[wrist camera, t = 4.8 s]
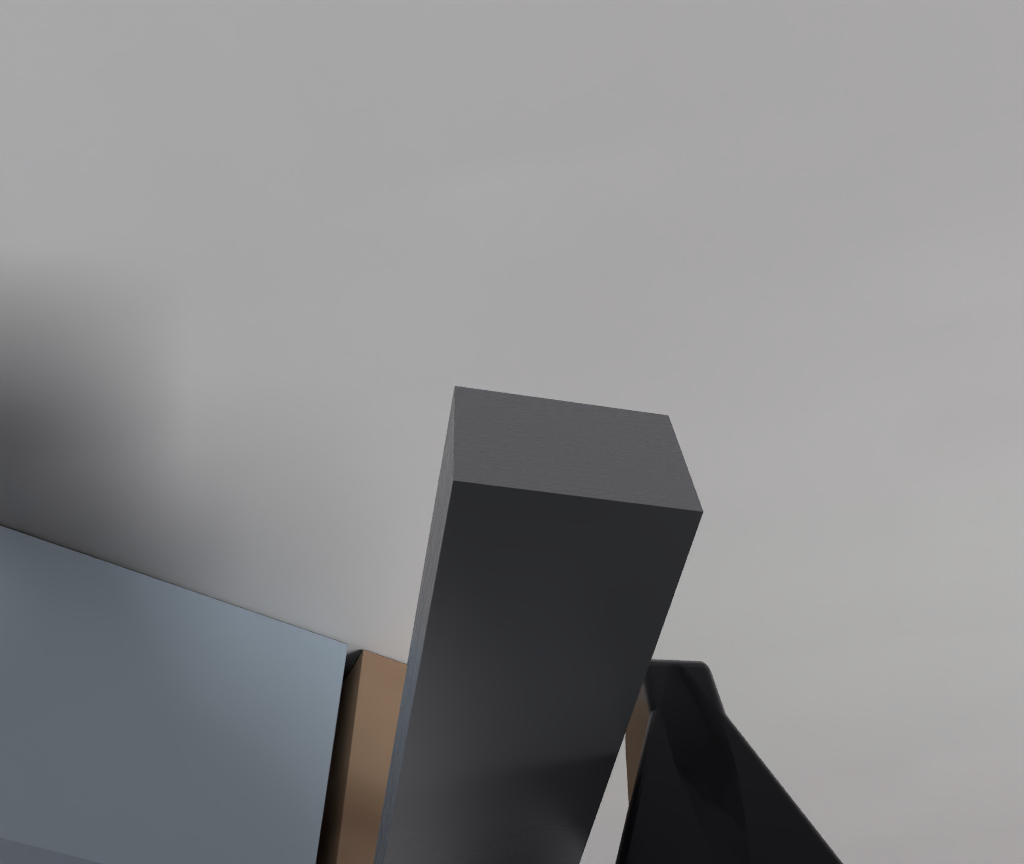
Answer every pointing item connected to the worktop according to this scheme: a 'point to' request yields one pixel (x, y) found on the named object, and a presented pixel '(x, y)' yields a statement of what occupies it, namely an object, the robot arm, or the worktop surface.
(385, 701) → the tan wooden block
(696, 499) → the bar
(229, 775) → the blue-grey block
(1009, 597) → the worktop surface
